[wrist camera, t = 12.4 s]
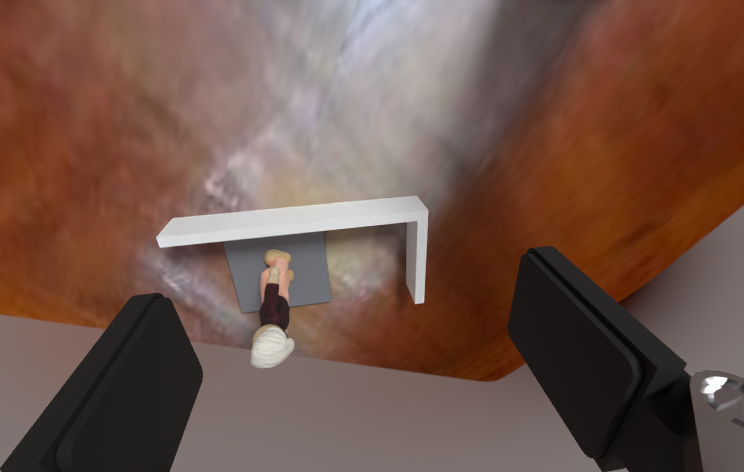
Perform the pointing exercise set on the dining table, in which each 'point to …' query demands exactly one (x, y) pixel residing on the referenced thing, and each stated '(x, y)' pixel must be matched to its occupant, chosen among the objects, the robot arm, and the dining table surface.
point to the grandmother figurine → (273, 312)
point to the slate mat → (304, 264)
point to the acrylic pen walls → (313, 227)
